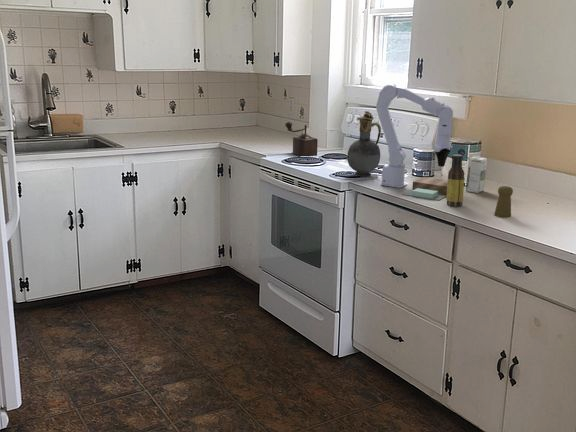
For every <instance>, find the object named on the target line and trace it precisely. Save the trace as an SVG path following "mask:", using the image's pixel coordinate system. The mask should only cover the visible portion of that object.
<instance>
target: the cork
mask: <svg viewBox="0 0 576 432" xmlns="http://www.w3.org/2000/svg"><path fill="white" fill-rule="evenodd" d="M497 193H498V198H497V202H496V206H495V210H494V214H493V216H495V217H498V218H503V219H504V218H506V219H509V218H511V217H512V202H511V201H512V196H513V193H514V190H513V188H512V187H511V186H508V185H502V186H500V187H498V189H497Z"/></svg>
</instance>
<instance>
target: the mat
mask: <svg viewBox="0 0 576 432" xmlns="http://www.w3.org/2000/svg"><path fill="white" fill-rule="evenodd" d="M401 195H403V196H407V197H414V198H421V199H428V200H433V201H434V200H435V201H441V200H442V199H444V198H447V196H446V195H440V194H438V196H437V197H435V198H433V199H431V198H425V197H418V196H412V189H411V190H408V191H406V192H403V193H401Z"/></svg>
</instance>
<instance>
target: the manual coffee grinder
mask: <svg viewBox="0 0 576 432" xmlns="http://www.w3.org/2000/svg"><path fill="white" fill-rule="evenodd" d="M285 127H286V128H287V130H286V131H288V132H290V133H299V132H301V134H300V135H299V136H295V137H294V136H292V152H291V153H292V155H294V156H297V155H298V156H297V157H300V156H307V157H317V156H318V138H316V137H312V136H310V135H309V134H308V133H307V129H308V128H307V124H304V127H303V128H301V129H300V128H299V129H298V130H293V128H292V127H293V122H290V121H288V122H287V121H286V123H285ZM303 131H304V133H302V132H303Z"/></svg>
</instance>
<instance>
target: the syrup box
mask: <svg viewBox="0 0 576 432" xmlns="http://www.w3.org/2000/svg"><path fill="white" fill-rule="evenodd" d="M468 161H469V162H468V168H467V177H466V186H465V187H466V188H465V191H466V192H469V193H475V194H478V193H482V192H484V191H485V181H486V172H487V167H488V166H487V165H488V158H486V157H481V156H474V157H470V158H469V159H468Z"/></svg>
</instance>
